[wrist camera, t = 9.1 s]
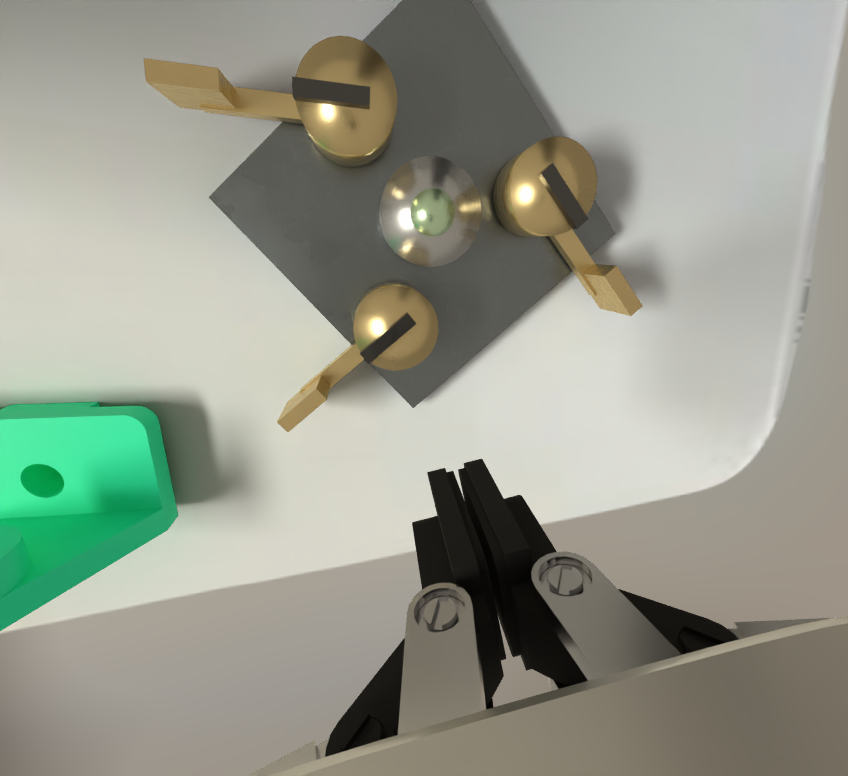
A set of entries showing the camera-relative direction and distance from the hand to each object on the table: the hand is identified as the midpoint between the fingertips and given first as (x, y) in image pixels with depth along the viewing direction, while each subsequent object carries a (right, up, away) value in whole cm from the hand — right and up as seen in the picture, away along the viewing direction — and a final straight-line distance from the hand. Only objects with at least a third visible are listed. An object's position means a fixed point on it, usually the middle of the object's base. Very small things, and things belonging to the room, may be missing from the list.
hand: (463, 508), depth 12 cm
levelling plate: (-1, +13, +12) cm, 18 cm away
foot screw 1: (-8, +17, +8) cm, 21 cm away
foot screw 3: (+7, +12, +12) cm, 18 cm away
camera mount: (-23, -1, +14) cm, 27 cm away
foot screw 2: (-5, +6, +12) cm, 15 cm away
